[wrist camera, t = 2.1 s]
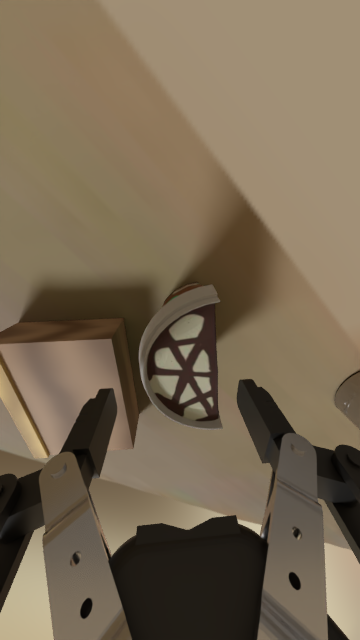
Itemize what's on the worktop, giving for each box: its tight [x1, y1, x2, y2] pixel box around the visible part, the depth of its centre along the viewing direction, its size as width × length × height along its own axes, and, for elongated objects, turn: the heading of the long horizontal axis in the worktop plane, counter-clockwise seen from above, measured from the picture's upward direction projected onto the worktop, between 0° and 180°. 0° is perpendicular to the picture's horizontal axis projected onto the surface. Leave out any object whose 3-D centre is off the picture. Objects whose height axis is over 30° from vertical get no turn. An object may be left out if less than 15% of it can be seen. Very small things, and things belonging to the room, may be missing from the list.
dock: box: [0, 318, 139, 458], centre depth 22 cm, size 12×16×5 cm
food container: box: [139, 282, 223, 430], centre depth 18 cm, size 12×6×10 cm, turn 6°
